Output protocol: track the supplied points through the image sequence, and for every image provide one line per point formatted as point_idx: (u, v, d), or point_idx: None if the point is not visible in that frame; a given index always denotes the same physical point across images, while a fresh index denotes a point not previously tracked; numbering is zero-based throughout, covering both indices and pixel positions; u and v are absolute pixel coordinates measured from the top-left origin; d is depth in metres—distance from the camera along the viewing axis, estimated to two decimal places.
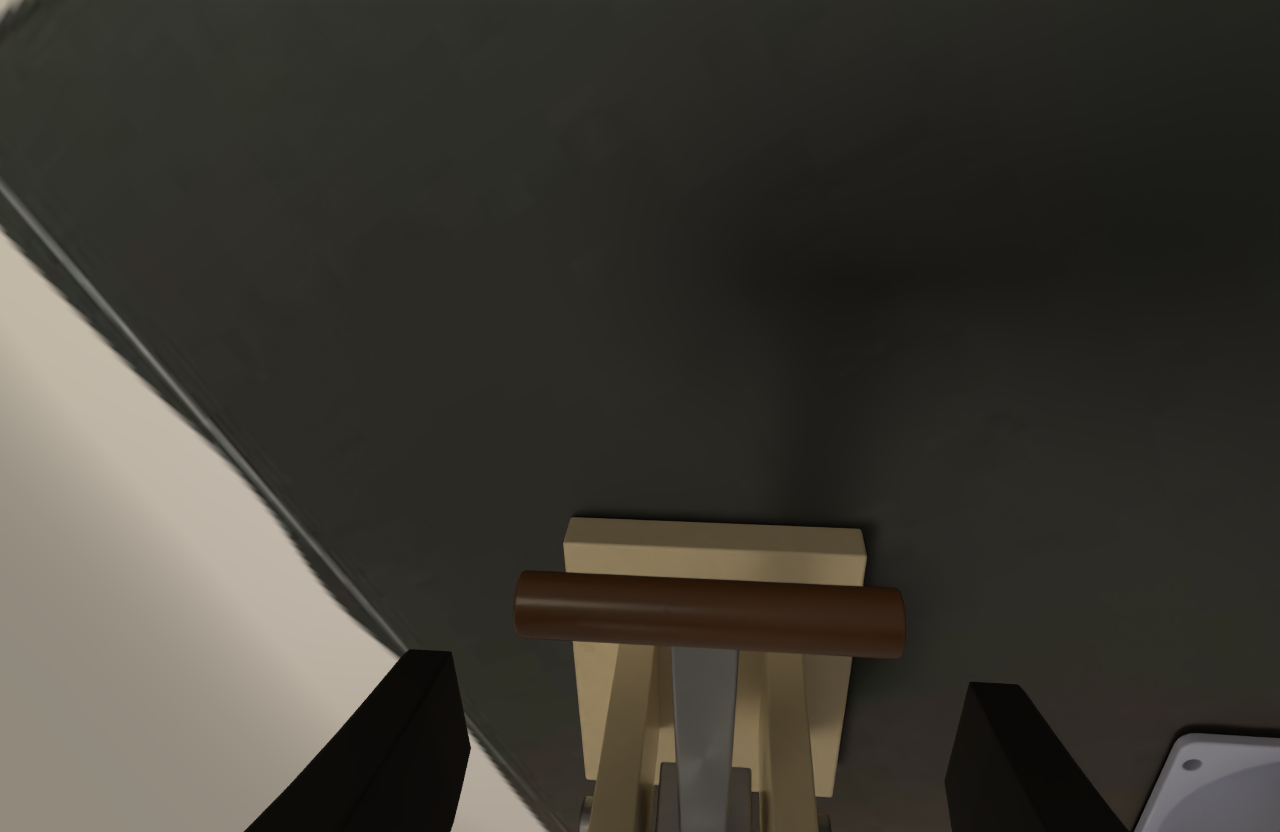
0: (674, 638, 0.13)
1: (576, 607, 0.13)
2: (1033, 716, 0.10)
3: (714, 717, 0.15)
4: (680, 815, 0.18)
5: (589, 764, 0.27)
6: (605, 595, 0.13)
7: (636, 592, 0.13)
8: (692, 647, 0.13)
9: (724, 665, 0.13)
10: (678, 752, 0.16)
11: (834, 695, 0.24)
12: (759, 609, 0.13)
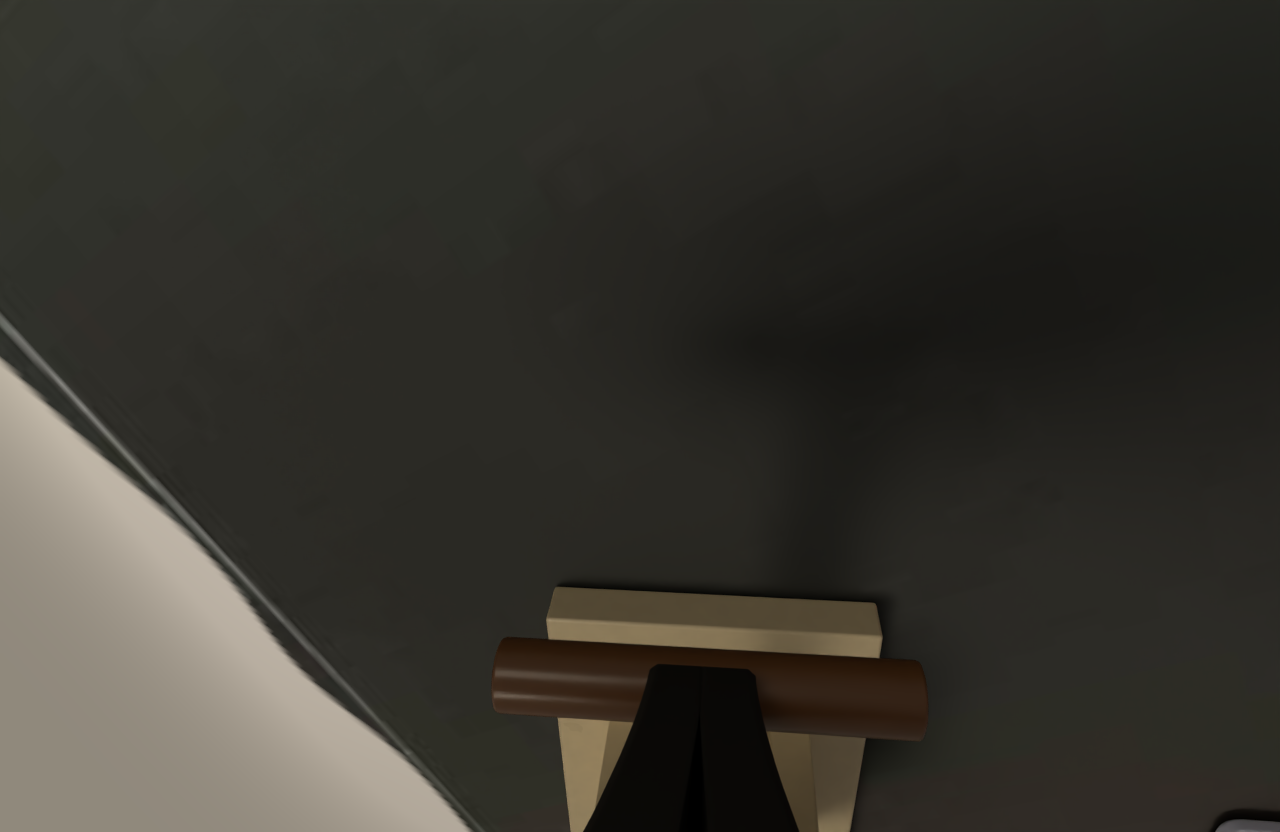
0: None
1: (562, 677, 0.12)
2: (744, 698, 0.10)
3: None
4: None
5: None
6: (593, 665, 0.12)
7: (628, 661, 0.12)
8: None
9: None
10: None
11: (845, 779, 0.22)
12: (765, 682, 0.11)
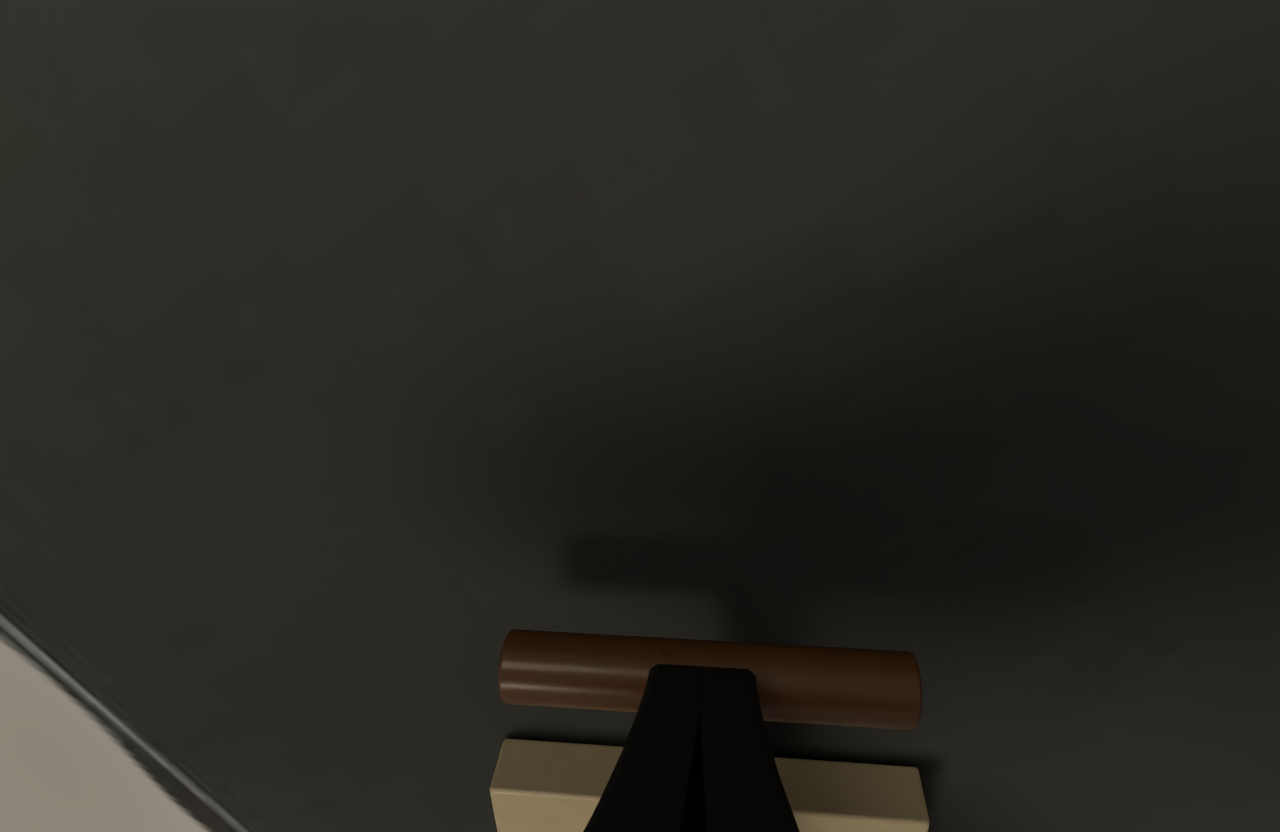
0: None
1: (569, 648, 0.12)
2: (745, 698, 0.10)
3: None
4: None
5: None
6: (600, 640, 0.12)
7: (633, 640, 0.12)
8: None
9: None
10: None
11: None
12: (763, 655, 0.12)
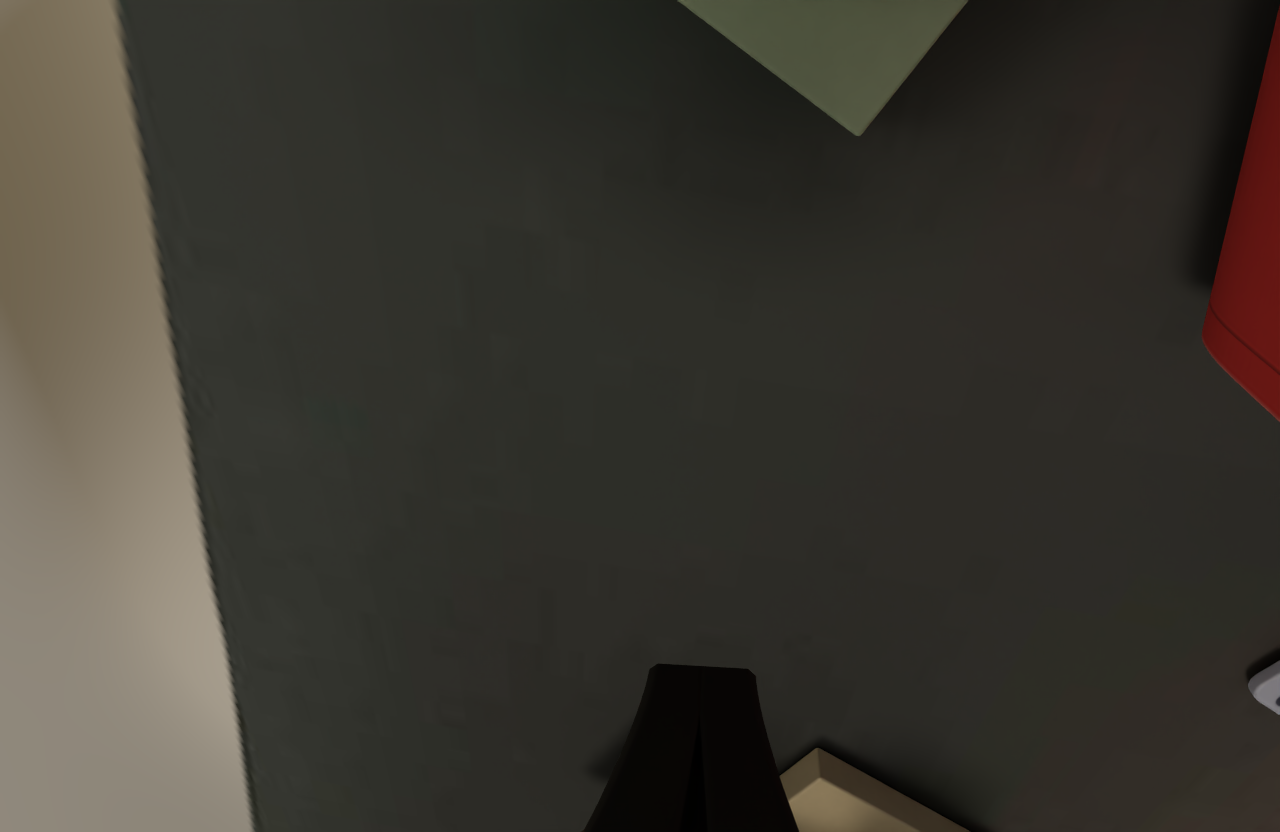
0: None
1: None
2: (744, 698, 0.10)
3: None
4: None
5: None
6: None
7: None
8: None
9: None
10: None
11: None
12: None
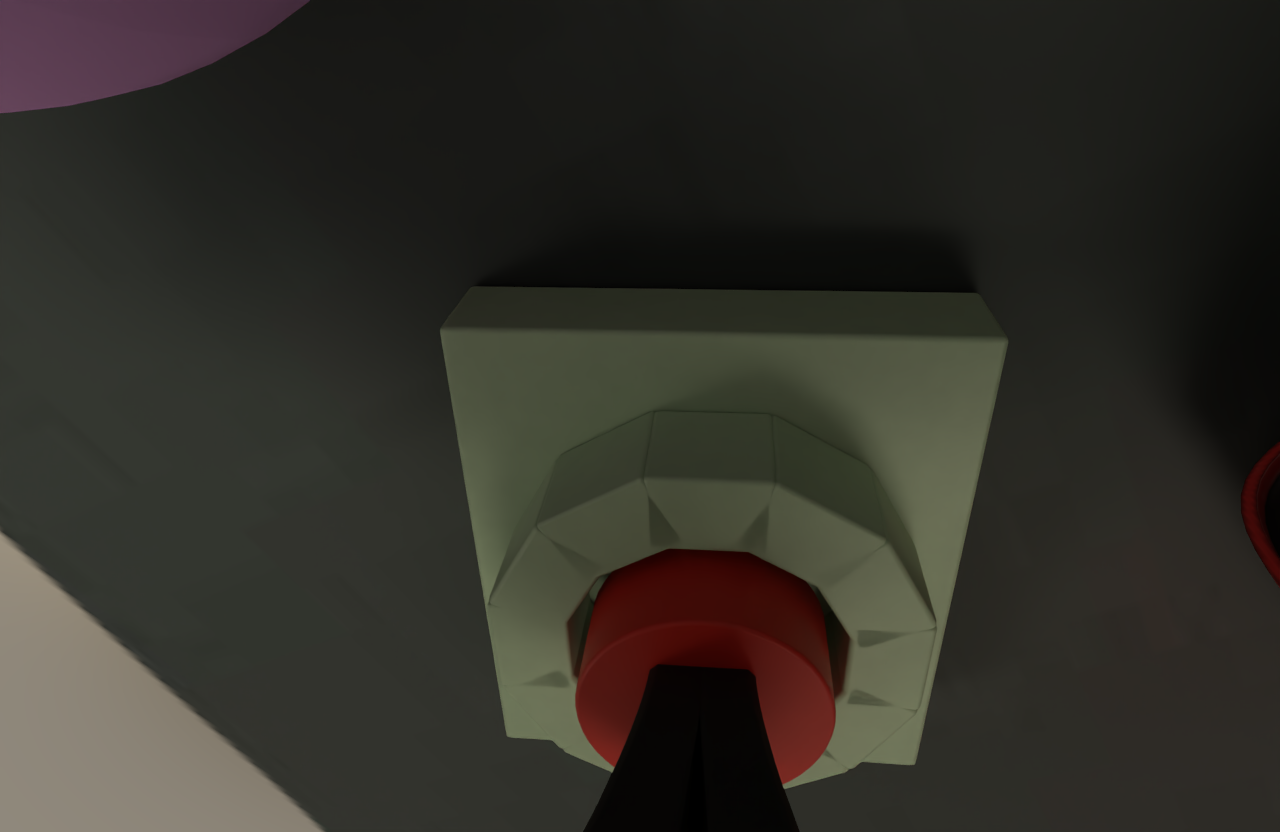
0: None
1: None
2: (744, 698, 0.10)
3: None
4: None
5: None
6: None
7: None
8: None
9: None
10: None
11: None
12: None
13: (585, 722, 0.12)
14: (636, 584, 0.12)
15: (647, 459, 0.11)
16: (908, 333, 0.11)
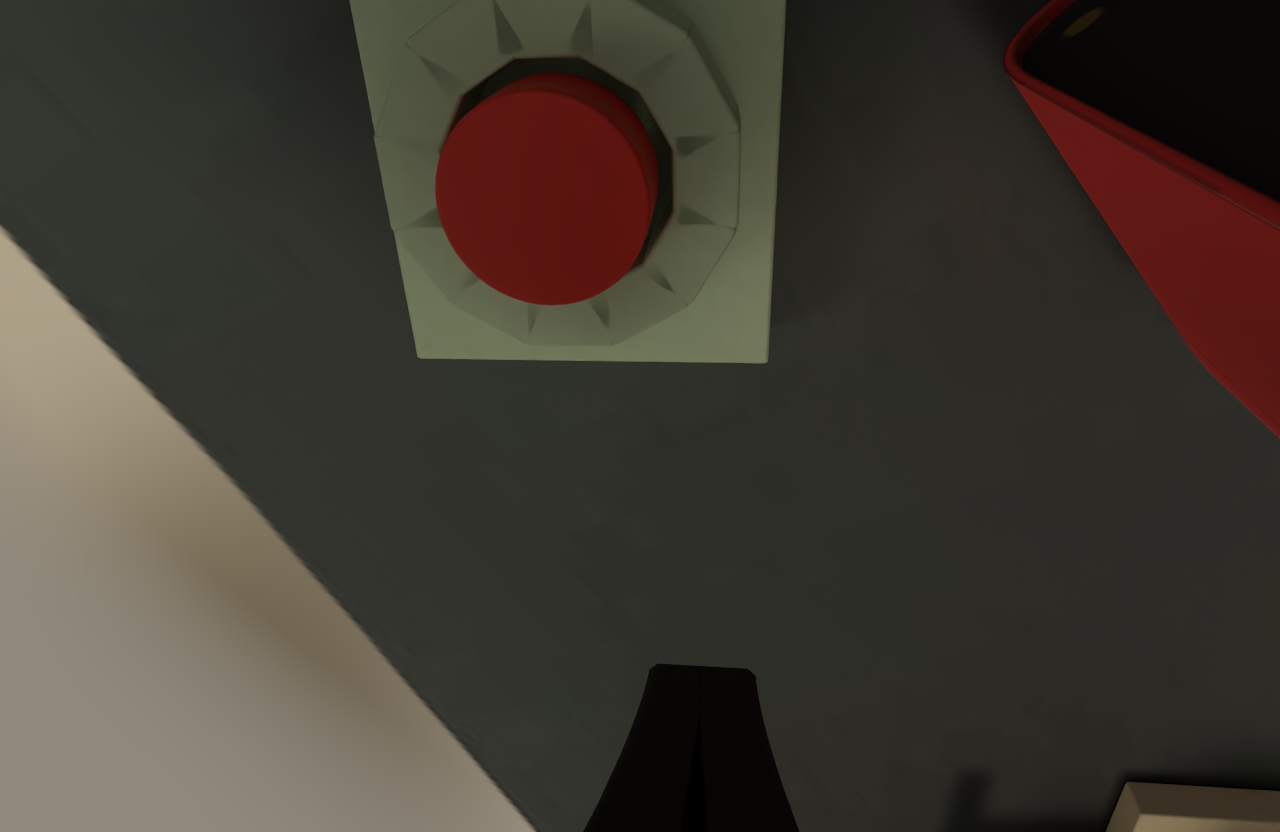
0: None
1: None
2: (744, 698, 0.10)
3: None
4: None
5: None
6: None
7: None
8: None
9: None
10: None
11: None
12: None
13: (446, 221, 0.14)
14: None
15: None
16: None
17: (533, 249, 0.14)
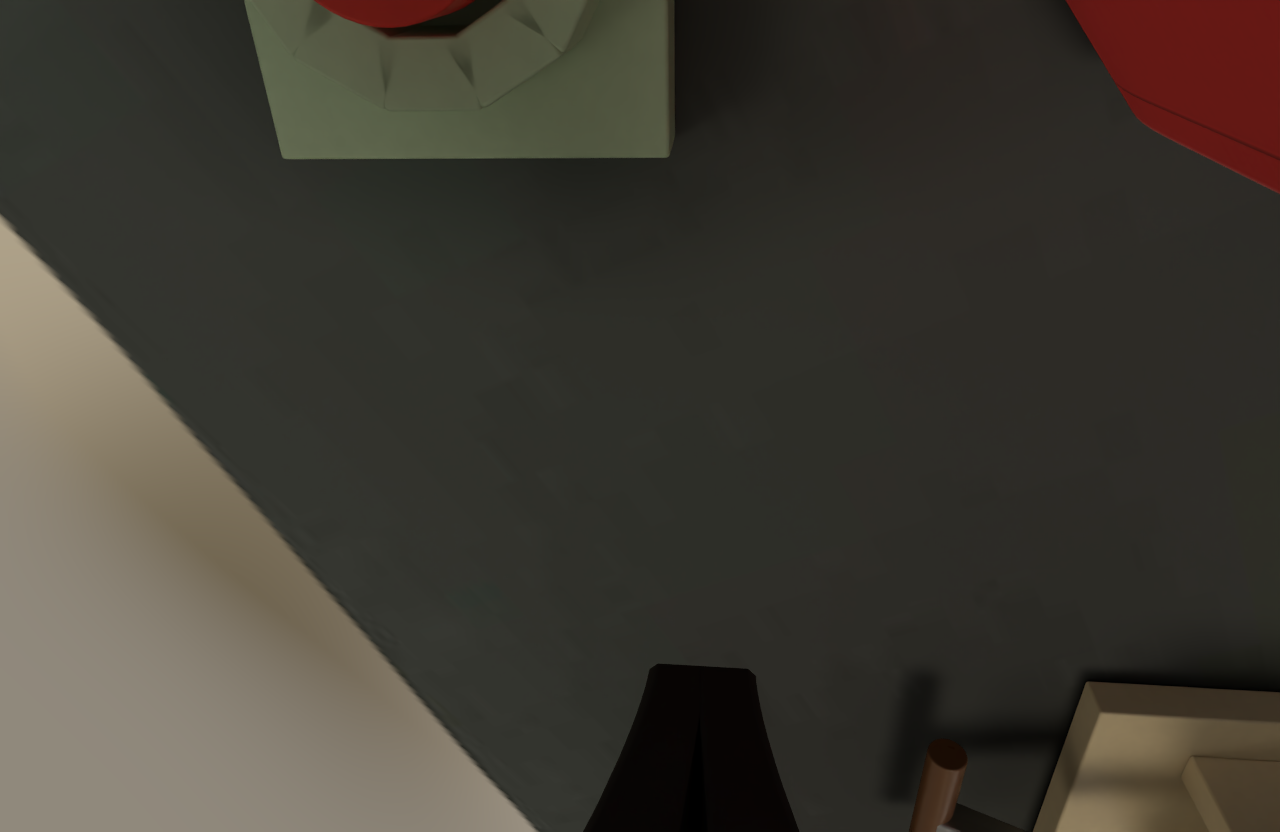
0: None
1: None
2: (744, 698, 0.10)
3: None
4: None
5: None
6: None
7: None
8: None
9: None
10: None
11: None
12: (918, 799, 0.25)
13: None
14: None
15: None
16: None
17: None
